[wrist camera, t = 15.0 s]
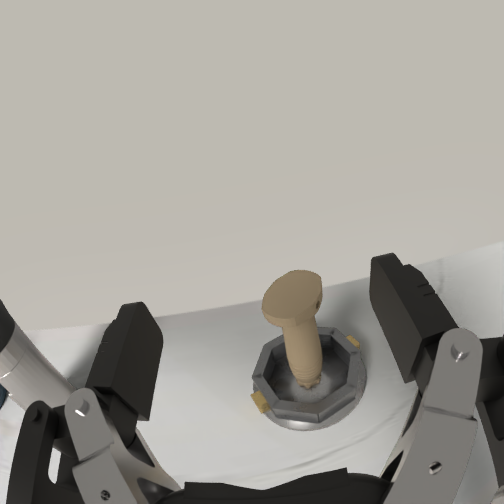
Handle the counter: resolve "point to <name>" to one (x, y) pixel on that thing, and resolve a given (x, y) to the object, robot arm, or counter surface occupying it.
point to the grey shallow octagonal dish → (319, 395)
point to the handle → (297, 321)
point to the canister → (2, 394)
